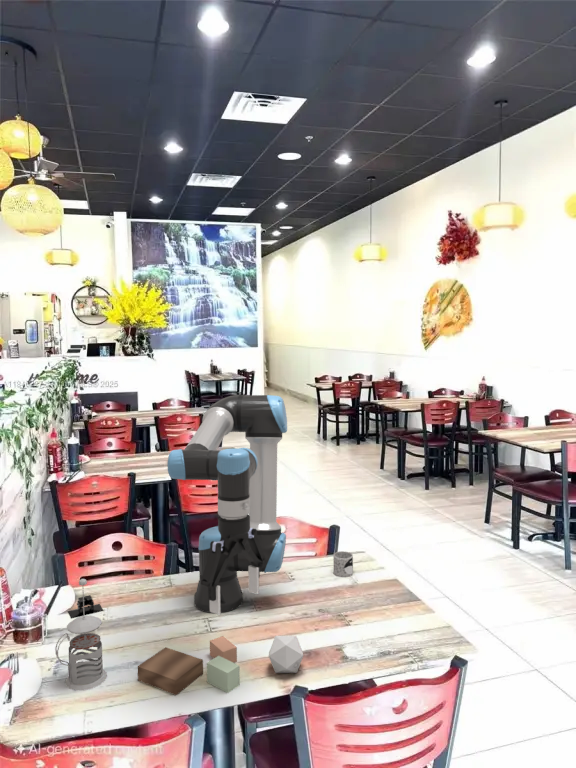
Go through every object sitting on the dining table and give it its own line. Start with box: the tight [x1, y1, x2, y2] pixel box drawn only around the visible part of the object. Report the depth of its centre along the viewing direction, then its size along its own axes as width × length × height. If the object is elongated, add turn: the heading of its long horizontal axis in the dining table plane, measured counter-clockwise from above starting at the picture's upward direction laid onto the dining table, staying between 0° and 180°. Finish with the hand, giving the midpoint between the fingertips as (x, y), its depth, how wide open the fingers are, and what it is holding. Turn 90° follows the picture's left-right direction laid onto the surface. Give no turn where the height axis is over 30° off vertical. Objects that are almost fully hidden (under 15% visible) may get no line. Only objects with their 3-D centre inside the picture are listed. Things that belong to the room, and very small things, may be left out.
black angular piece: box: [67, 594, 104, 619], centre depth 181 cm, size 12×7×5 cm, turn 120°
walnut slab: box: [137, 647, 204, 696], centre depth 145 cm, size 12×10×4 cm
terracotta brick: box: [209, 635, 238, 663], centre depth 154 cm, size 7×4×4 cm, turn 36°
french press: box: [54, 578, 108, 691], centre depth 144 cm, size 10×12×25 cm
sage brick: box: [206, 656, 241, 694], centre depth 143 cm, size 7×4×5 cm, turn 51°
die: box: [268, 635, 304, 674], centre depth 148 cm, size 8×9×10 cm
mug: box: [333, 551, 354, 578], centre depth 209 cm, size 10×7×7 cm, turn 149°
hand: (235, 602), depth 142 cm, fingers open, 13 cm apart
